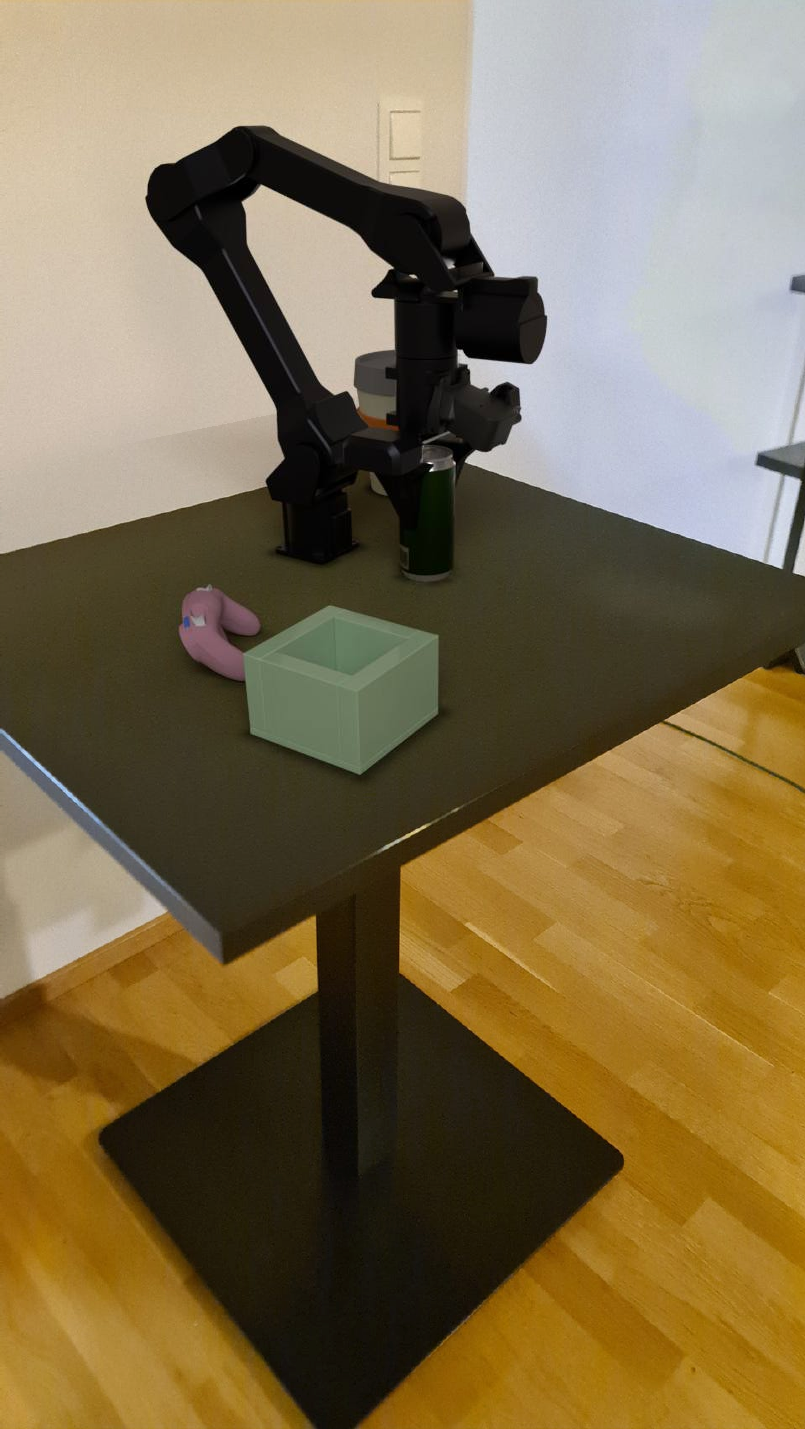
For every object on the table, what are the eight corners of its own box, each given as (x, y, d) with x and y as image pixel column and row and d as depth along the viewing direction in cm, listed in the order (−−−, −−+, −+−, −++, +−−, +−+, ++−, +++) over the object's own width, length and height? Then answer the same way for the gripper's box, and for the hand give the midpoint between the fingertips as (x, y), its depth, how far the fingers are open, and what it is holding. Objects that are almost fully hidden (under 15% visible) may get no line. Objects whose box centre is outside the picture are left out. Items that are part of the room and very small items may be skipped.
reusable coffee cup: (461, 472, 130) (463, 349, 123) (456, 503, 119) (458, 371, 112) (363, 470, 131) (360, 348, 124) (350, 501, 121) (345, 370, 113)
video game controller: (220, 648, 90) (176, 585, 87) (265, 625, 90) (221, 560, 86) (212, 703, 82) (162, 635, 79) (261, 678, 81) (213, 608, 78)
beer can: (419, 587, 98) (419, 464, 92) (389, 569, 102) (387, 450, 96) (464, 575, 101) (467, 454, 95) (433, 558, 105) (433, 441, 99)
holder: (250, 733, 75) (242, 653, 72) (333, 679, 82) (329, 604, 79) (360, 775, 70) (357, 691, 67) (438, 713, 77) (439, 635, 74)
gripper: (448, 384, 80) (445, 570, 88) (555, 345, 94) (545, 510, 101) (335, 369, 86) (342, 545, 94) (452, 334, 99) (450, 491, 107)
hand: (426, 522), depth 99 cm, fingers closed on beer can, 5 cm apart
